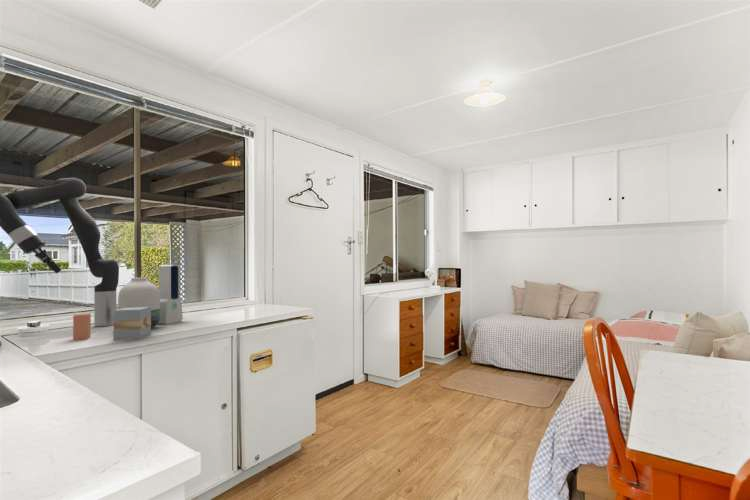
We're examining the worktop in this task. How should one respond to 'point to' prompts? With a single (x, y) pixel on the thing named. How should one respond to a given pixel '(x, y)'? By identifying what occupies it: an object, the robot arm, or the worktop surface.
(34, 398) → the worktop surface
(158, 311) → the vase
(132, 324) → the tower slab middle
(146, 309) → the tower slab top
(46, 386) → the worktop surface
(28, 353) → the worktop surface
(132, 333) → the tower slab bottom
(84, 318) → the pillar
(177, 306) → the electronic device
